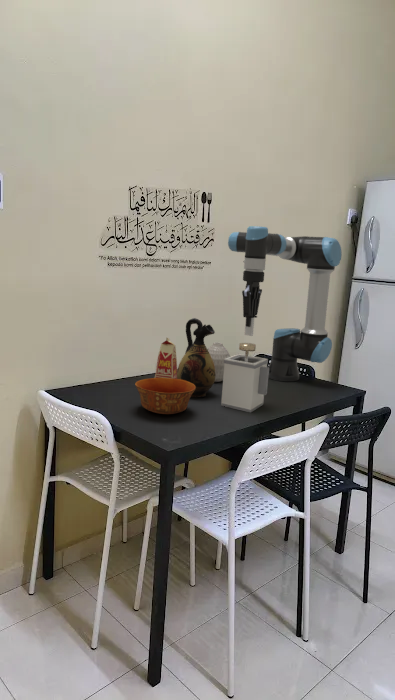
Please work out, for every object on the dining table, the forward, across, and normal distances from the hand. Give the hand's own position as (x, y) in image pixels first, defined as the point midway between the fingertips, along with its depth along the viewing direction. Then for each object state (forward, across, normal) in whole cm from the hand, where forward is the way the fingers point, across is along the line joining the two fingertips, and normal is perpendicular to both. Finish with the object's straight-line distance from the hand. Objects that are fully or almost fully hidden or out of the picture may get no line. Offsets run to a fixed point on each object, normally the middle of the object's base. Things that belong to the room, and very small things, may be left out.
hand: (248, 335), depth 190 cm
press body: (+27, 0, +1) cm, 27 cm away
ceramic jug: (+27, -1, -22) cm, 35 cm away
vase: (+27, -26, -25) cm, 45 cm away
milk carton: (+27, -7, -39) cm, 48 cm away
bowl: (+27, +25, -19) cm, 42 cm away
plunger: (+25, 0, 0) cm, 25 cm away
